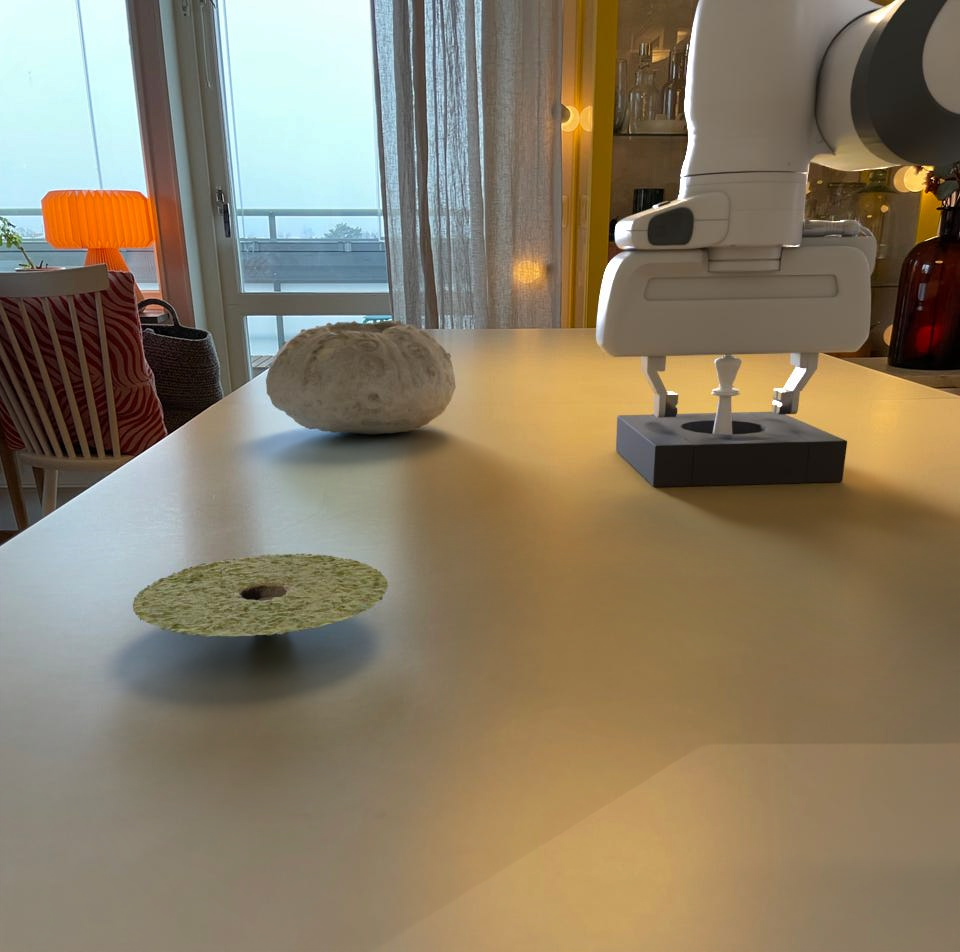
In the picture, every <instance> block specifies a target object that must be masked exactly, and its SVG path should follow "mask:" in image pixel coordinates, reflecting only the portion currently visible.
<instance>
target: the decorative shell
mask: <svg viewBox="0 0 960 952" xmlns="http://www.w3.org/2000/svg"><path fill="white" fill-rule="evenodd" d="M451 357H452V356H451V353H450V352H447V350H446V349H445V348H444V346H442V345H441V343H439V342H438V340H436V339H435V338H434V337H433V336H432V335H430V334H429V333H428V332H426V331H424V330H421V329H419V328H418V327H415V325H414V324H413V323H411V324H408V323H407V324H406V323H403V322H402V321H401V320H396V321H395V320H380V321H378V322H373V323H372V322H366V323H361V322H360V323H359V322H357V321H355V320H353V321H350V322H349V321H337V322H335V323H334V324H333V323H331V322H327V323H326V324H325V325H320V326H319V325H316V326H315V327H310V328H307V329H305V328H302V329H301V330H300V332H299V333H297V334H295V335H294V336H292V337H291V338H290V339H289V340H287V341H286V340H284V341H282V343H281V347H280V348H279V349H278V351H277V352H276V354H275V356H274V358H273V360H272V361H271V362H270V363H269V367H268V371H267V375H266V378H265V385H266V386H265V387H266V395H267V396H268V397H269V399H270V401H271V402H270V403H271V404H272V405H273V406H274V408H275V409H278V410H279V411H282V412H284V413H285V415H287V416H288V417H289V418H291V419H292V420H293V421H294V422H295V423H296V424H298V425H299V426H301V427H303V428H305V429H307V430H308V429H309V430H319V431H321V432H328V433H333V434H334V433H346V434H363V435H380V434H381V435H383V434H396V433H408V432H411V431H412V430H414V429H415V430H416V429H420V428H421V427H424V426H427V425H428V424H429V423H431V422H432V421H433V420H434V419H437V418H438V417H439V416H440V415H442V414H443V413H444V412H445V410H446V409H447V407H448V405H449V404H450V402H451V401H452V399H453V395H454V393H455V390H456V375H455V371H454V367H453V363H452V360H451Z"/></svg>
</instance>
